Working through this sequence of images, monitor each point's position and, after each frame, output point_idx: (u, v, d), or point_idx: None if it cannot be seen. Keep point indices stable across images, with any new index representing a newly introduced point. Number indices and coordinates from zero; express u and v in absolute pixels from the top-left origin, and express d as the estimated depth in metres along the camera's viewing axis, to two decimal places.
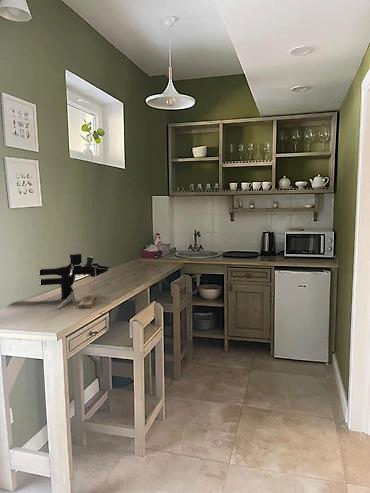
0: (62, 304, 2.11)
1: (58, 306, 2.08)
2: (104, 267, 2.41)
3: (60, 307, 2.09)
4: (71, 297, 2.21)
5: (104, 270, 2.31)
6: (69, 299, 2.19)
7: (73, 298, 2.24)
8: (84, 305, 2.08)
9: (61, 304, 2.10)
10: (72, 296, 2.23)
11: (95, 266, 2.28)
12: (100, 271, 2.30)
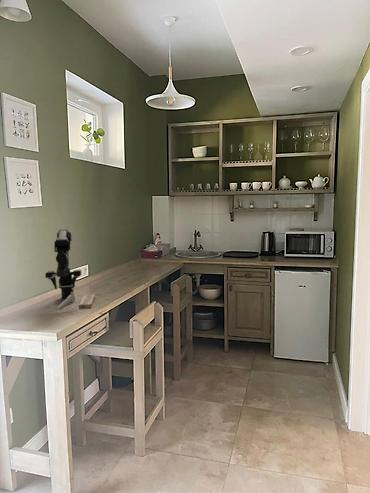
0: (62, 304, 2.11)
1: (58, 306, 2.08)
2: (72, 284, 2.15)
3: (60, 307, 2.09)
4: (71, 297, 2.21)
5: None
6: (69, 299, 2.19)
7: (73, 298, 2.24)
8: (84, 305, 2.08)
9: (61, 304, 2.10)
10: (72, 296, 2.22)
11: (48, 278, 2.10)
12: None
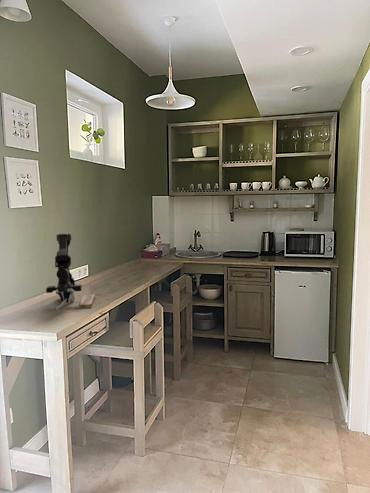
0: (62, 304, 2.11)
1: (58, 306, 2.08)
2: None
3: (60, 307, 2.09)
4: (71, 297, 2.21)
5: None
6: (69, 299, 2.19)
7: (73, 298, 2.24)
8: (84, 305, 2.08)
9: (61, 304, 2.10)
10: (72, 296, 2.22)
11: (56, 293, 2.11)
12: None
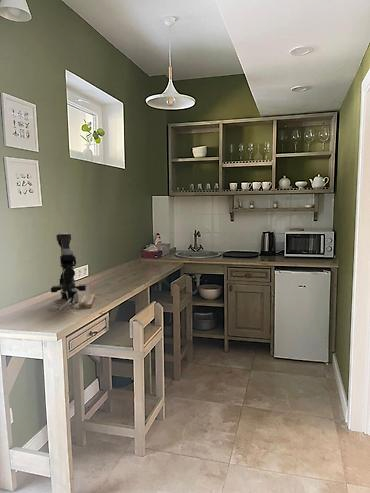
0: (65, 304, 2.10)
1: (61, 306, 2.07)
2: (71, 298, 2.15)
3: (63, 307, 2.08)
4: (75, 297, 2.21)
5: None
6: (73, 299, 2.18)
7: (77, 298, 2.23)
8: (84, 305, 2.08)
9: (64, 304, 2.10)
10: (76, 296, 2.22)
11: (60, 292, 2.11)
12: None
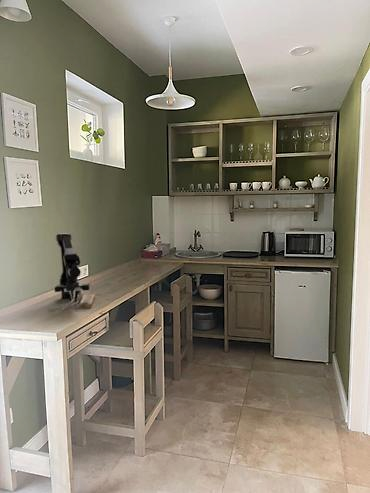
0: (69, 304, 2.10)
1: (64, 306, 2.07)
2: None
3: (66, 307, 2.08)
4: (79, 297, 2.20)
5: None
6: None
7: (81, 298, 2.23)
8: (84, 305, 2.08)
9: (67, 304, 2.10)
10: (80, 296, 2.22)
11: (64, 292, 2.12)
12: None
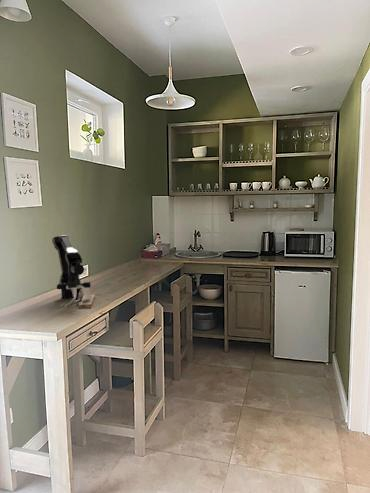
0: (70, 302, 2.16)
1: (66, 304, 2.13)
2: None
3: (68, 305, 2.14)
4: (80, 295, 2.26)
5: None
6: (78, 297, 2.24)
7: (82, 296, 2.29)
8: (84, 305, 2.08)
9: (69, 302, 2.15)
10: (81, 294, 2.27)
11: (66, 289, 2.18)
12: None
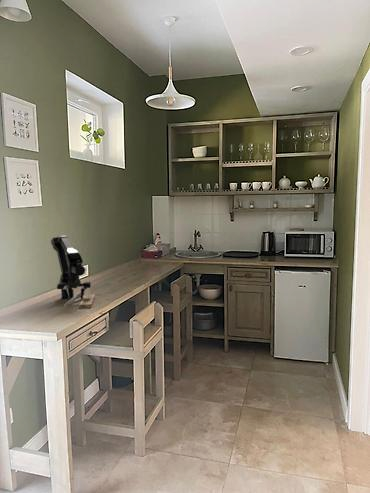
0: (70, 301, 2.18)
1: None
2: (81, 295, 2.24)
3: (68, 304, 2.16)
4: None
5: None
6: (78, 296, 2.26)
7: (83, 295, 2.31)
8: (84, 305, 2.08)
9: (69, 301, 2.18)
10: None
11: (61, 289, 2.19)
12: None
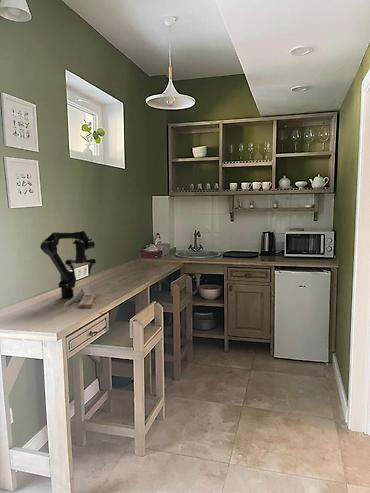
0: (70, 301, 2.18)
1: (66, 303, 2.15)
2: None
3: (68, 304, 2.16)
4: (80, 294, 2.28)
5: None
6: (78, 296, 2.26)
7: (83, 295, 2.31)
8: (84, 305, 2.08)
9: (69, 301, 2.17)
10: (82, 293, 2.29)
11: (68, 265, 2.40)
12: None
